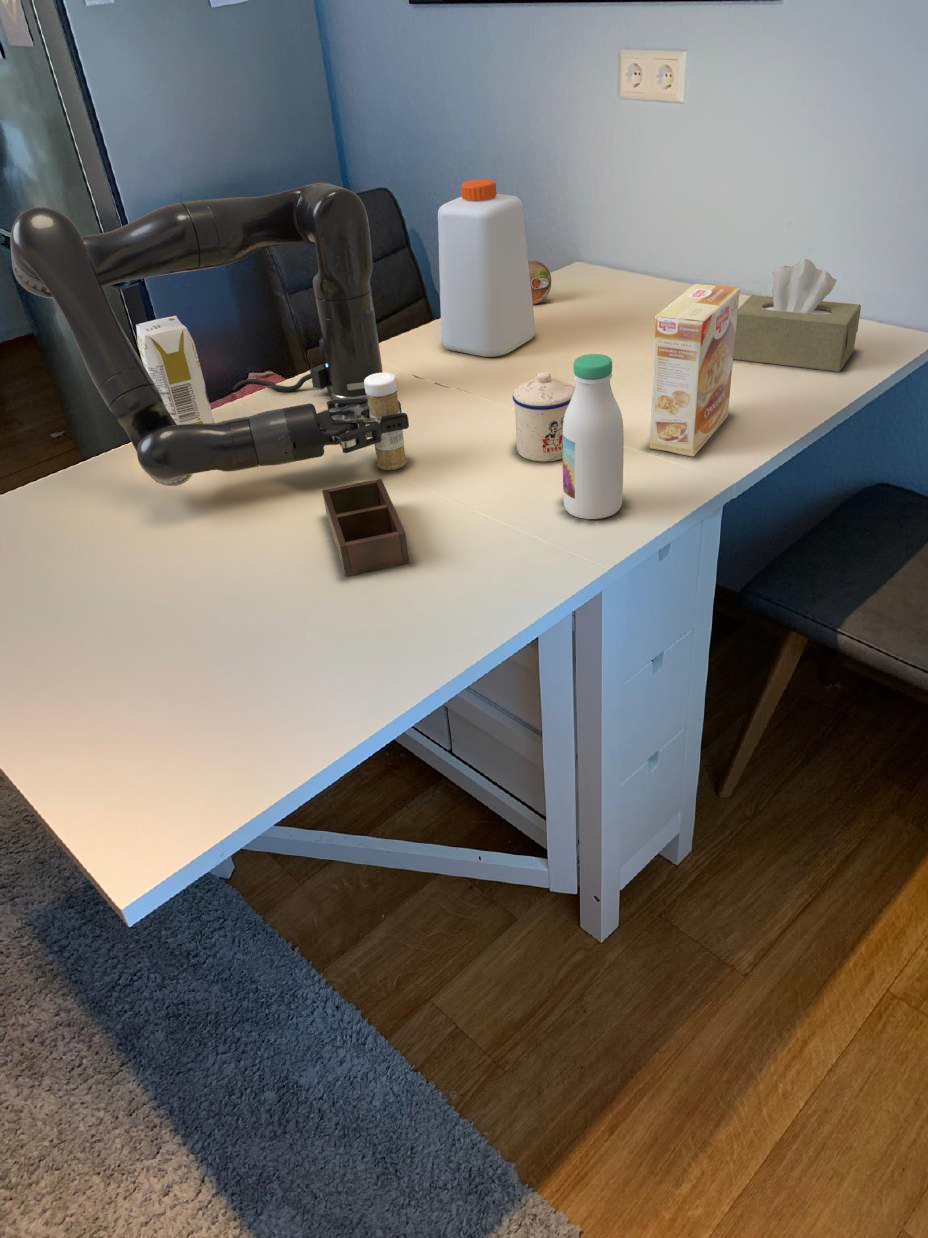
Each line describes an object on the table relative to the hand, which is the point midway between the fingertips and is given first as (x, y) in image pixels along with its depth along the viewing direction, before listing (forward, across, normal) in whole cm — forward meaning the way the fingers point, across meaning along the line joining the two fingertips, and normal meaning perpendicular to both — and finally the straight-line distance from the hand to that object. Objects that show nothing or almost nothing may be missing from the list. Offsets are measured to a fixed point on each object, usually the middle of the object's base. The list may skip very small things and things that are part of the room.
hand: (403, 413), depth 134 cm
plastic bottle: (+25, -43, -8) cm, 50 cm away
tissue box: (+70, -12, -8) cm, 71 cm away
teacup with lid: (+21, +4, -8) cm, 23 cm away
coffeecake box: (+41, +8, -8) cm, 43 cm away
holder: (-10, +20, -8) cm, 23 cm away
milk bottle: (+20, +23, -8) cm, 32 cm away
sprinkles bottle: (-3, 0, -8) cm, 8 cm away
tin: (+37, -62, -8) cm, 73 cm away
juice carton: (-31, -22, -8) cm, 39 cm away
